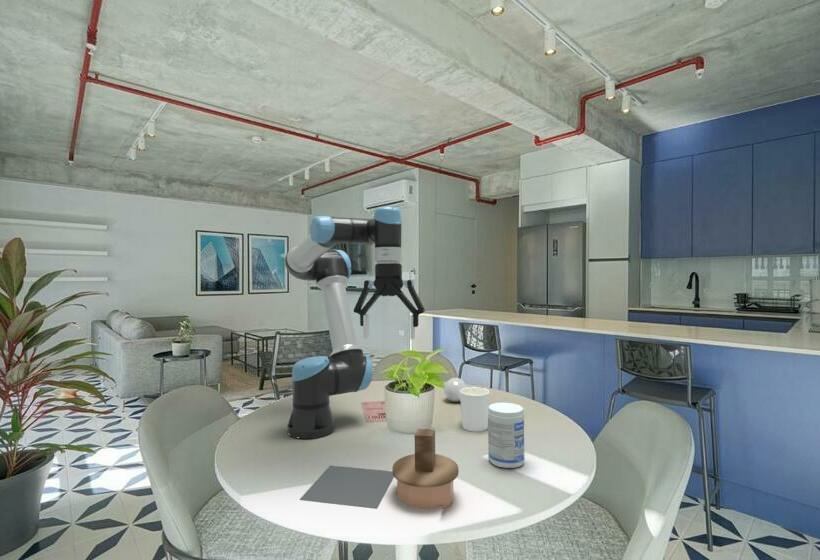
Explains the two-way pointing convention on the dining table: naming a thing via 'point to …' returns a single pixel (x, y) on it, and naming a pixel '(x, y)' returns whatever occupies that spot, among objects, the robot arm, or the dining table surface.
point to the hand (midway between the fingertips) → (389, 338)
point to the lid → (425, 464)
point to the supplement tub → (506, 435)
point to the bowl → (426, 495)
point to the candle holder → (474, 408)
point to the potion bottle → (454, 389)
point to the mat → (350, 487)
